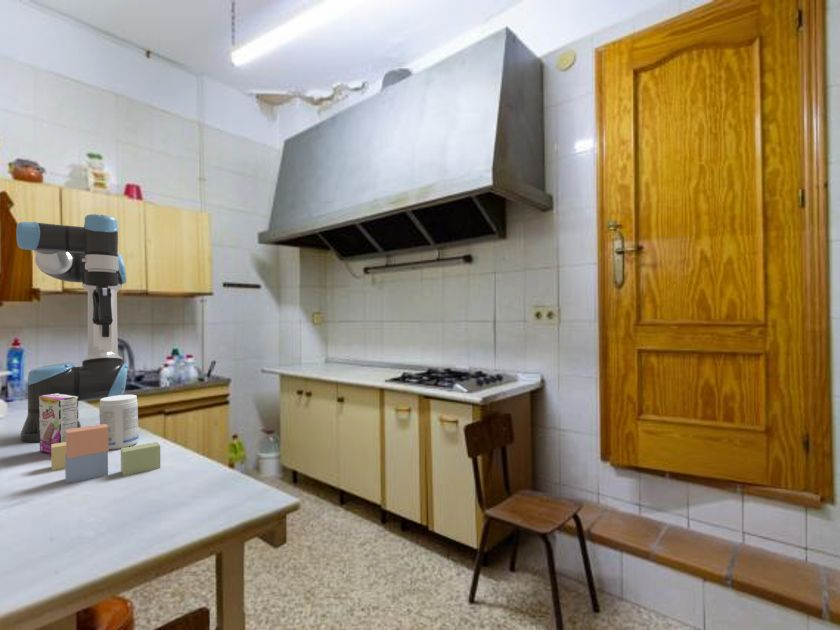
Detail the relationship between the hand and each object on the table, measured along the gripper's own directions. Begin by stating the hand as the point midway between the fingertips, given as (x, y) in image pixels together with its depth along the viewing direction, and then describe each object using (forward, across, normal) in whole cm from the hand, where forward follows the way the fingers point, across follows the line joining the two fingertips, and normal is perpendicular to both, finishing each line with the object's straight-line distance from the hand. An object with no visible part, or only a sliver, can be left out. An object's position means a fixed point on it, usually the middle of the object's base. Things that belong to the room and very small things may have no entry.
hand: (102, 348), depth 121 cm
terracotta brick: (+24, +16, -4) cm, 29 cm away
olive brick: (+30, +18, +6) cm, 36 cm away
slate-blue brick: (+30, +15, -5) cm, 34 cm away
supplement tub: (+31, -10, +5) cm, 33 cm away
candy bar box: (+31, -14, -9) cm, 35 cm away
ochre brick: (+31, +2, -7) cm, 31 cm away
